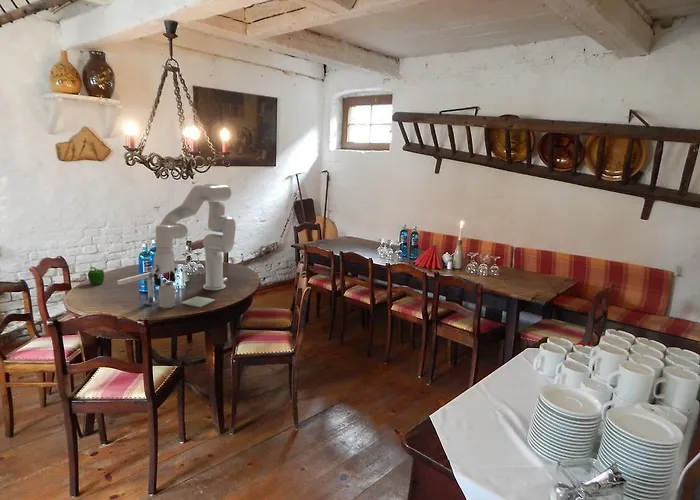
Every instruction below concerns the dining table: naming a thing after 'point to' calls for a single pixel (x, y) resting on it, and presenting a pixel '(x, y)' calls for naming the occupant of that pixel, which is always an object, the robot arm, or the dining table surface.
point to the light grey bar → (134, 278)
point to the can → (167, 295)
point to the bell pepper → (96, 276)
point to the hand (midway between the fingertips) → (165, 283)
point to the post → (151, 292)
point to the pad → (198, 301)
